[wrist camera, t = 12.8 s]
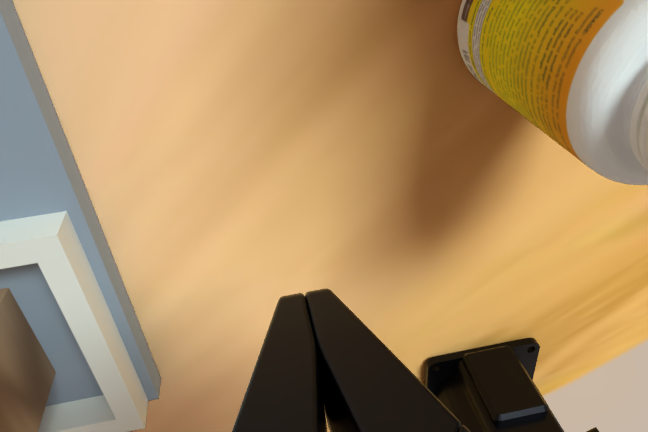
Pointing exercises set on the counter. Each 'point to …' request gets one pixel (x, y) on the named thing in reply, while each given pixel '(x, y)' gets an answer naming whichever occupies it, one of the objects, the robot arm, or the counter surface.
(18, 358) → the brown block
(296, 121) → the counter surface
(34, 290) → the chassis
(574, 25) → the supplement bottle
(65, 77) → the counter surface
